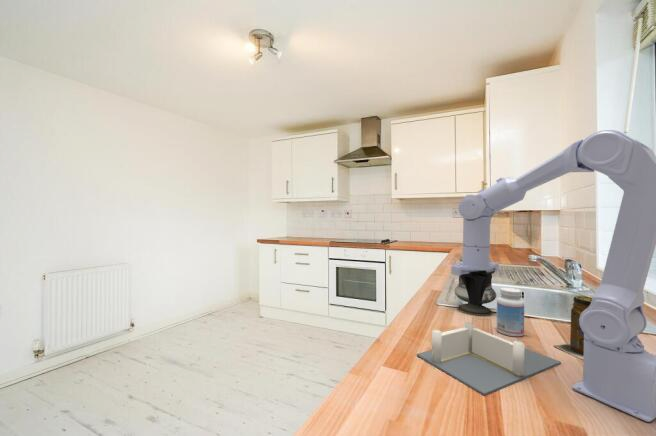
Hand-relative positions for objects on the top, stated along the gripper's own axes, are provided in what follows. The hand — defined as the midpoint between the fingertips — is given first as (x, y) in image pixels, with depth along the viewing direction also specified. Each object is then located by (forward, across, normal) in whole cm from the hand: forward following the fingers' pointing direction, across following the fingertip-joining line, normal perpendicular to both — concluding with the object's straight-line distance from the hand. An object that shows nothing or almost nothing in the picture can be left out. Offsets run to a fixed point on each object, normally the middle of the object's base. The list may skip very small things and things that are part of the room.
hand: (475, 303), depth 69 cm
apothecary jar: (+10, -22, -16) cm, 29 cm away
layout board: (+9, +5, +7) cm, 13 cm away
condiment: (+10, -18, +14) cm, 25 cm away
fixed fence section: (+9, +11, +3) cm, 15 cm away
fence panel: (+9, +6, +9) cm, 14 cm away
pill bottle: (+10, -14, 0) cm, 17 cm away
